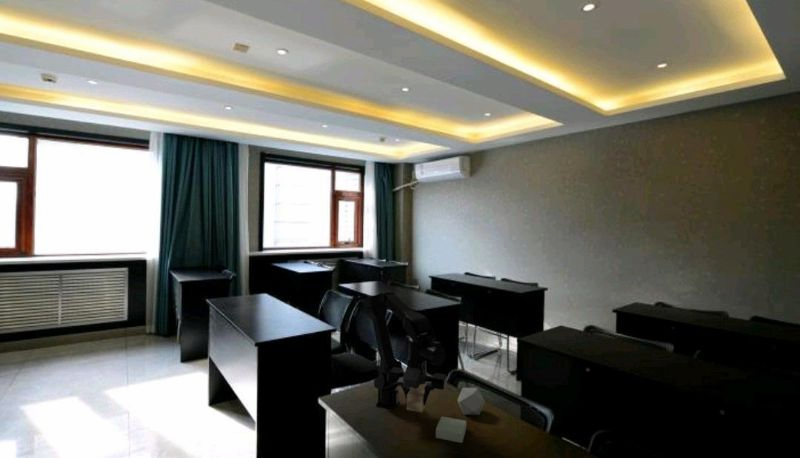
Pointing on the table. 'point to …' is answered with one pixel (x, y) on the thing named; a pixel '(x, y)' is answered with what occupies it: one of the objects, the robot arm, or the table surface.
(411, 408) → the maple cube
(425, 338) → the robot arm
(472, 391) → the die
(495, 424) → the table surface
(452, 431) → the foundation slab
